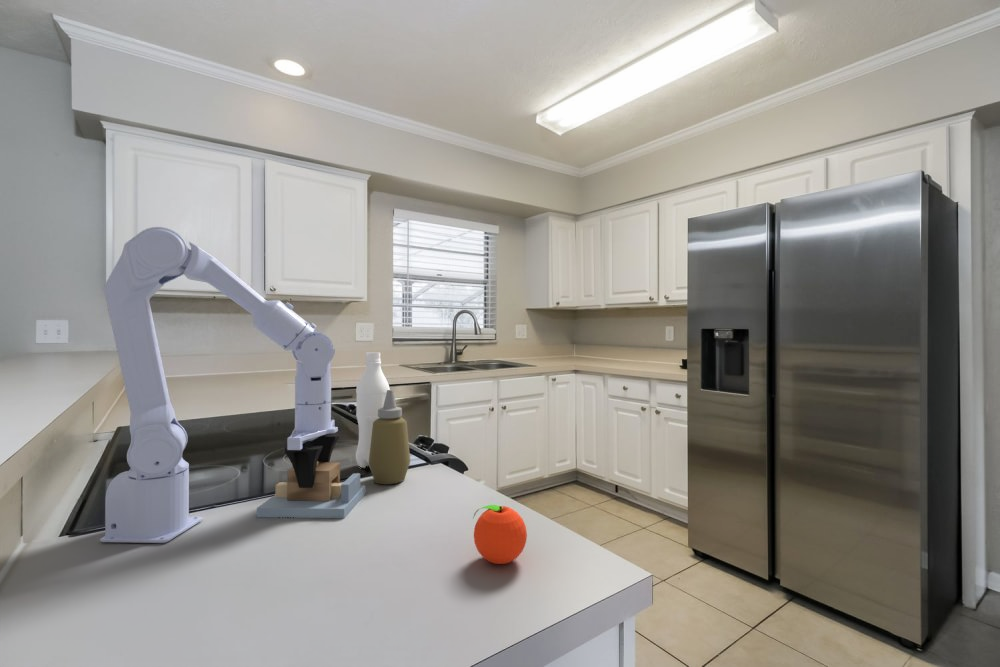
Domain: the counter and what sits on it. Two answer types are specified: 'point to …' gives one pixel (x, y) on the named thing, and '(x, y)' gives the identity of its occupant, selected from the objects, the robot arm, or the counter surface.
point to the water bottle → (369, 404)
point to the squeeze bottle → (389, 444)
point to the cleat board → (315, 502)
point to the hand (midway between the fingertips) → (313, 481)
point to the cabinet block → (321, 486)
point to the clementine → (500, 534)
